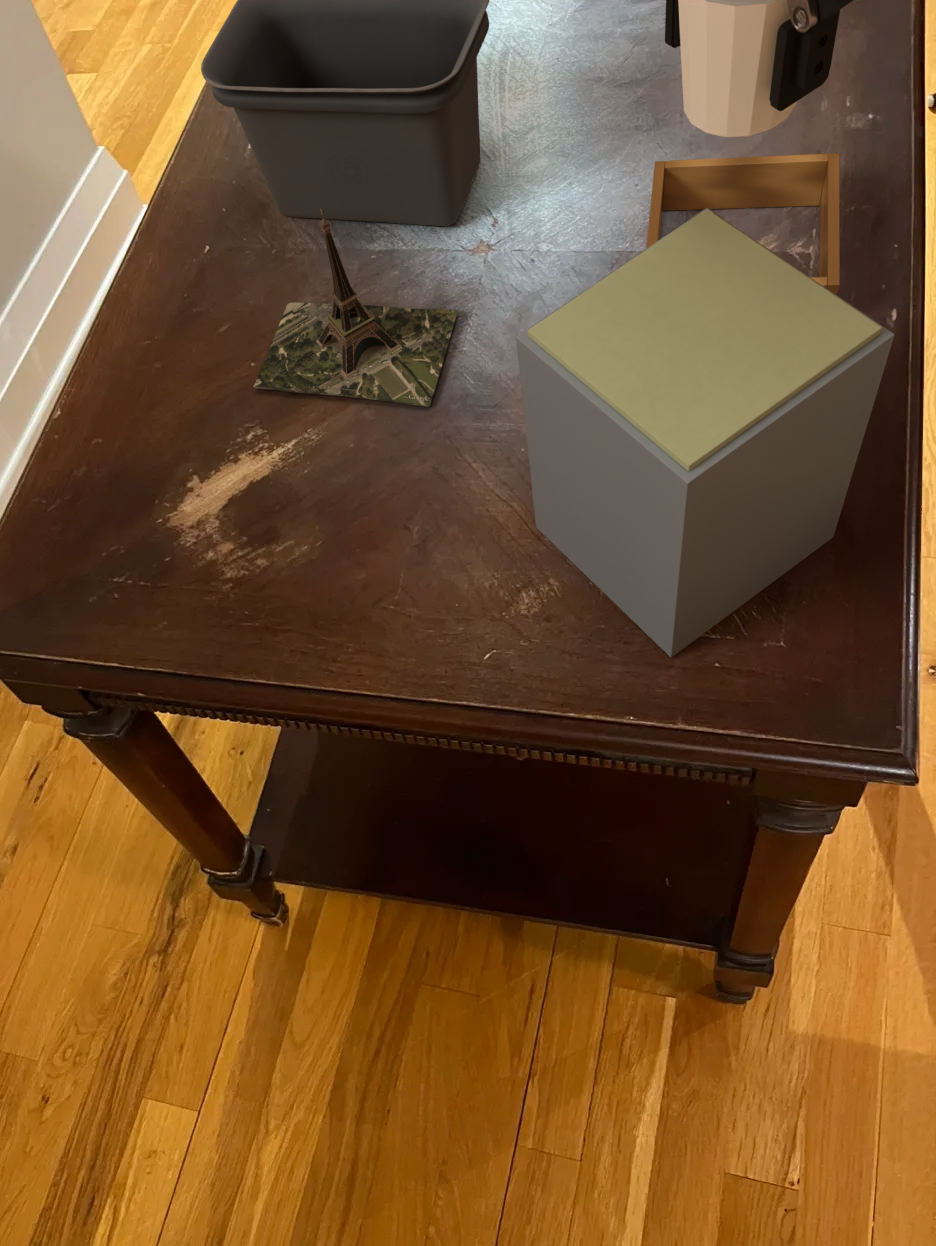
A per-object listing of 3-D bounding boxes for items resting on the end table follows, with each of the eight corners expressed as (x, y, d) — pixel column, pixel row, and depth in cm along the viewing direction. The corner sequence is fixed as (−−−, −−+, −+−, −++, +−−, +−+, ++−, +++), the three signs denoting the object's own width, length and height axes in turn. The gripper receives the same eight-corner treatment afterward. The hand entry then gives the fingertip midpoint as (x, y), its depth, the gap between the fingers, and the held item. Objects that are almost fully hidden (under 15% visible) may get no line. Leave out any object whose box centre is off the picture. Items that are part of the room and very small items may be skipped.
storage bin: (241, 237, 96) (185, 83, 83) (300, 119, 102) (255, -42, 89) (473, 255, 90) (450, 92, 77) (521, 129, 96) (507, -43, 83)
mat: (880, 334, 57) (882, 327, 56) (688, 472, 55) (689, 465, 55) (706, 215, 63) (707, 208, 62) (528, 336, 61) (527, 330, 60)
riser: (833, 537, 72) (895, 334, 57) (671, 658, 71) (687, 483, 55) (688, 419, 79) (706, 207, 63) (535, 527, 77) (515, 336, 61)
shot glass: (646, 94, 58) (648, -46, 52) (761, 40, 58) (777, -106, 52) (716, 164, 54) (727, 23, 48) (838, 106, 55) (865, -42, 48)
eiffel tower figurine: (251, 395, 87) (194, 260, 76) (288, 302, 91) (240, 160, 80) (430, 410, 83) (400, 270, 72) (461, 312, 87) (437, 164, 76)
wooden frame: (830, 198, 86) (839, 152, 82) (829, 327, 80) (839, 284, 77) (653, 204, 89) (654, 160, 85) (640, 329, 83) (642, 288, 80)
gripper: (1074, -425, 35) (936, 99, 51) (705, -511, 43) (684, -37, 59) (898, -318, 34) (813, 181, 50) (555, -427, 42) (574, 32, 58)
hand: (743, 60), depth 54 cm, fingers closed on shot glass, 6 cm apart
